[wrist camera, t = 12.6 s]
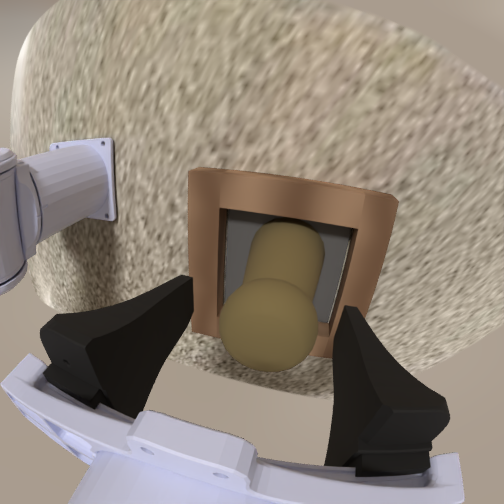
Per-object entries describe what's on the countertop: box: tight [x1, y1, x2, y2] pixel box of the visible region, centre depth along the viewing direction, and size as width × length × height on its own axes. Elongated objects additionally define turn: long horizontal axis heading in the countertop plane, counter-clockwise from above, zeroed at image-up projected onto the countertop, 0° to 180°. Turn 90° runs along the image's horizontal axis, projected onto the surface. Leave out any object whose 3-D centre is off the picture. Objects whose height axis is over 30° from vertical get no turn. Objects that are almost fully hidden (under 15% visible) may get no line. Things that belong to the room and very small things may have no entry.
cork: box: [219, 217, 325, 372], centre depth 18 cm, size 6×6×11 cm
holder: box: [188, 167, 399, 358], centre depth 23 cm, size 15×15×2 cm
